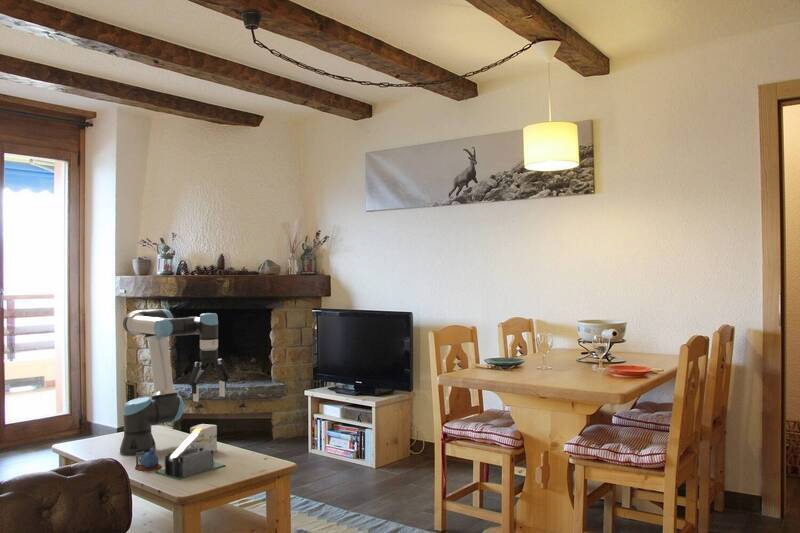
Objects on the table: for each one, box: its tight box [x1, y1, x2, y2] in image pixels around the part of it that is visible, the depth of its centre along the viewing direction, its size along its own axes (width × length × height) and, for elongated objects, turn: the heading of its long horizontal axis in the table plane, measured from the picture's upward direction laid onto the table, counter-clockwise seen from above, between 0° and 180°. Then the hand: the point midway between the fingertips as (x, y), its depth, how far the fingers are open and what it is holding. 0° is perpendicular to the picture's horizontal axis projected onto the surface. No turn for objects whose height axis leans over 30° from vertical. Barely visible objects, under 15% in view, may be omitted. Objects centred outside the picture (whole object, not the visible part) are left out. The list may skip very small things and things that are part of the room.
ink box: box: [189, 423, 218, 453], centre depth 295 cm, size 9×8×12 cm
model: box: [134, 448, 163, 473], centre depth 271 cm, size 12×9×9 cm
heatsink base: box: [155, 447, 227, 480], centre depth 267 cm, size 16×22×8 cm
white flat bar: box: [167, 428, 204, 462], centre depth 264 cm, size 17×4×2 cm
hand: (209, 398), depth 281 cm, fingers open, 13 cm apart
